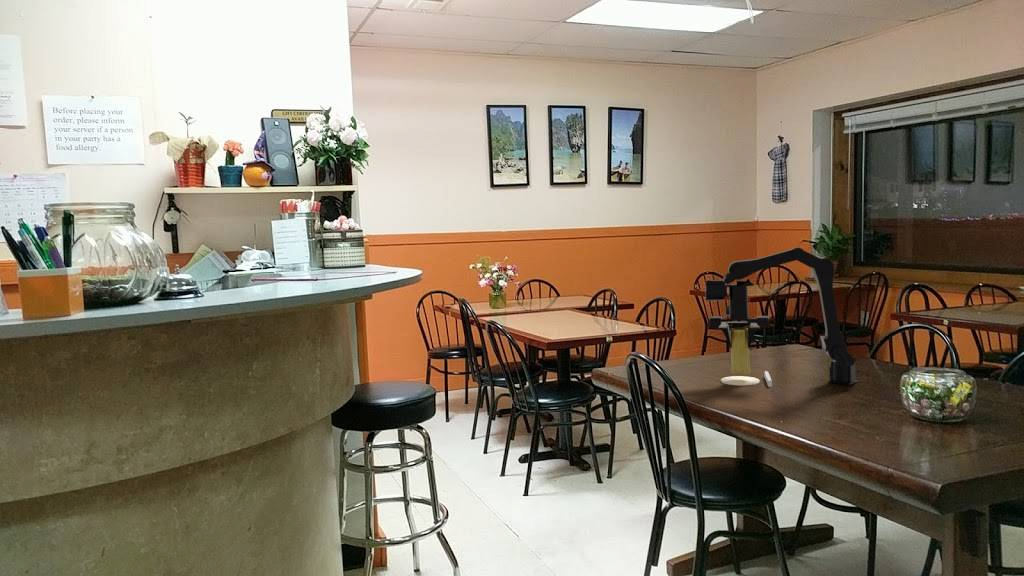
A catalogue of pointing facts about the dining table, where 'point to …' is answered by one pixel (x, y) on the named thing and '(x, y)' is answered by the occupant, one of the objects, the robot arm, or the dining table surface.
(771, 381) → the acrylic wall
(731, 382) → the mat
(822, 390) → the dining table surface
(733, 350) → the vase
